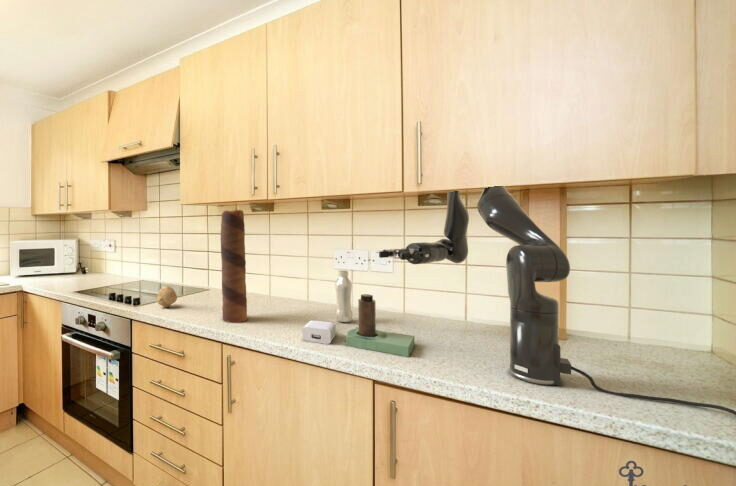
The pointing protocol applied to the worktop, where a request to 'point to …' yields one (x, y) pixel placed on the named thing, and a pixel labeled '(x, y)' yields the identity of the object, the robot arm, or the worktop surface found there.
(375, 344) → the board
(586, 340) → the worktop surface
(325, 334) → the charger
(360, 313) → the pepper mill
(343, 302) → the plastic bottle
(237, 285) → the wafer roll
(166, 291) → the natural sponge
